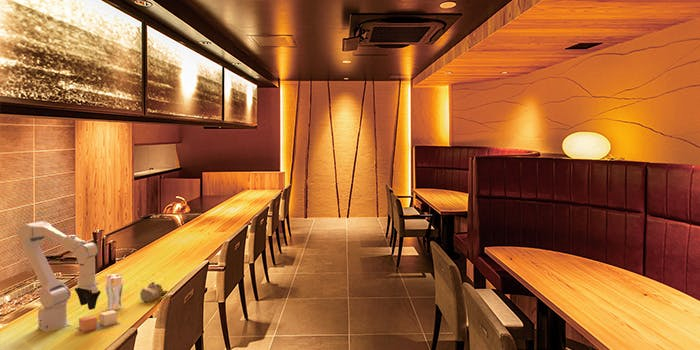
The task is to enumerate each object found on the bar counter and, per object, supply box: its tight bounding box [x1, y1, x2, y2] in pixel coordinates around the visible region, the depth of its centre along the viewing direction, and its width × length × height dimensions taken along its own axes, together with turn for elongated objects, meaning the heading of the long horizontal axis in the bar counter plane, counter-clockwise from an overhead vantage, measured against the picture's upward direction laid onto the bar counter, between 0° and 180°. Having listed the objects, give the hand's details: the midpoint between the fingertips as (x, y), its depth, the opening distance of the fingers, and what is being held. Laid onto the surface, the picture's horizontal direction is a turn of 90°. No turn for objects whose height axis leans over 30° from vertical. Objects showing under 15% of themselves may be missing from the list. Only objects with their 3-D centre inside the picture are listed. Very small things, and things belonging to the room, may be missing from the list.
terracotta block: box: [78, 314, 98, 332], centre depth 187 cm, size 5×4×4 cm
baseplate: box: [75, 321, 121, 335], centre depth 190 cm, size 14×9×1 cm, turn 141°
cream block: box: [99, 310, 118, 326], centre depth 193 cm, size 5×4×4 cm
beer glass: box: [105, 273, 124, 311], centre depth 211 cm, size 7×7×15 cm
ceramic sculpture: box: [139, 281, 169, 303], centre depth 225 cm, size 11×9×15 cm
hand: (87, 306), depth 186 cm, fingers open, 7 cm apart
